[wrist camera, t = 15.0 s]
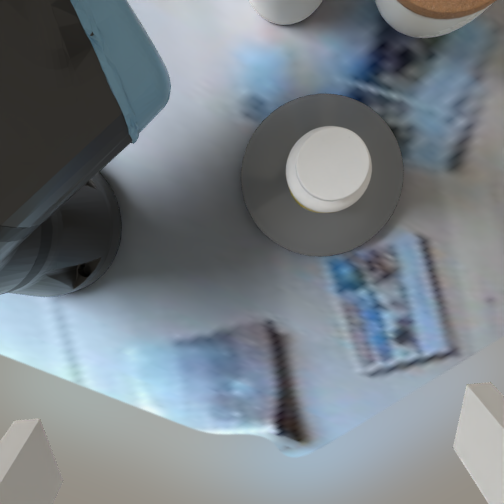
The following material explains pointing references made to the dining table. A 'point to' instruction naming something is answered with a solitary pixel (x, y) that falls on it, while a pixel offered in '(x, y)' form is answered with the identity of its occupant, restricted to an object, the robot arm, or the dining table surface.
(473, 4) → the lidded jar
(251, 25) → the dining table surface
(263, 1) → the milk bottle
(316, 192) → the pill bottle
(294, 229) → the slate plate
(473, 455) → the robot arm
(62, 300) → the dining table surface
